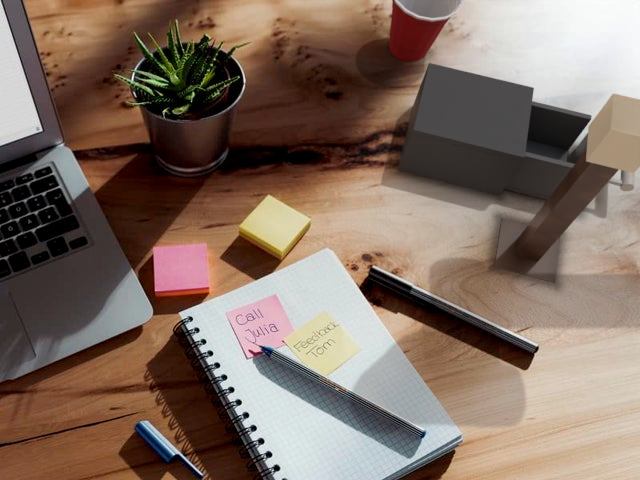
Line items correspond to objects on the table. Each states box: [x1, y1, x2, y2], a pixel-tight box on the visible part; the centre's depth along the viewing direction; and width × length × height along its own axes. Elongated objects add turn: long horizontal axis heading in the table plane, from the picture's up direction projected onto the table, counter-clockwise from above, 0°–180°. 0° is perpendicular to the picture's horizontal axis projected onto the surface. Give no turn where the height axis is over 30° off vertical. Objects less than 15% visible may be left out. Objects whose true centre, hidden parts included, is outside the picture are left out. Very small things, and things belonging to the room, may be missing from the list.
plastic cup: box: [388, 0, 465, 63], centre depth 100 cm, size 11×11×12 cm
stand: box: [494, 150, 620, 284], centre depth 80 cm, size 8×8×22 cm
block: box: [586, 93, 640, 173], centre depth 68 cm, size 5×5×5 cm
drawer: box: [504, 100, 636, 201], centre depth 91 cm, size 18×11×8 cm, turn 73°
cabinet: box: [397, 62, 535, 197], centre depth 93 cm, size 15×13×10 cm
